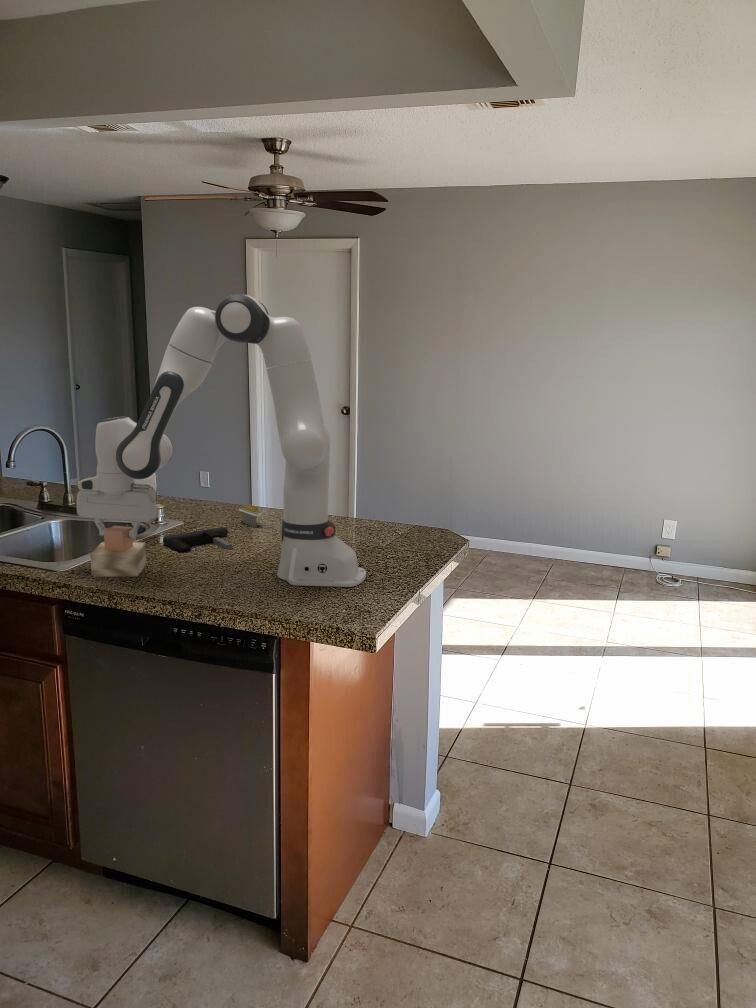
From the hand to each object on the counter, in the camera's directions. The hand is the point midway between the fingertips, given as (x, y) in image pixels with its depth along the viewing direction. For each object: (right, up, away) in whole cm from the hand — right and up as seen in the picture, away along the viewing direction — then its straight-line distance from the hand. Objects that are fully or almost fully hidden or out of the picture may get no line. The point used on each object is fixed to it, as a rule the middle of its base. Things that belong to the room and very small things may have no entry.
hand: (118, 536), depth 196 cm
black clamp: (+16, -4, +28) cm, 32 cm away
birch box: (0, -9, +2) cm, 9 cm away
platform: (+25, +1, +53) cm, 58 cm away
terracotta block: (0, -3, +1) cm, 3 cm away
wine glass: (-3, -2, +33) cm, 33 cm away
